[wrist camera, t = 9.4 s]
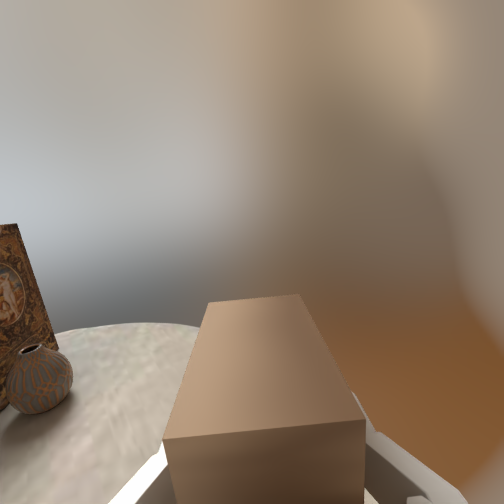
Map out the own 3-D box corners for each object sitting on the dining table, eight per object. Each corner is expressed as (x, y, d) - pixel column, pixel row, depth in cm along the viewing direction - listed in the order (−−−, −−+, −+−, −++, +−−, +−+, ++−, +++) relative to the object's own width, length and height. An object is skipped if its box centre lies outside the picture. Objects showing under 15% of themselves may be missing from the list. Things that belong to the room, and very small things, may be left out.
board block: (224, 704, 7) (162, 439, 5) (233, 471, 13) (208, 302, 10) (359, 690, 7) (366, 419, 5) (307, 464, 13) (298, 294, 10)
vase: (45, 425, 30) (23, 367, 28) (2, 422, 31) (-23, 366, 29) (89, 383, 37) (73, 333, 35) (52, 381, 38) (34, 333, 36)
